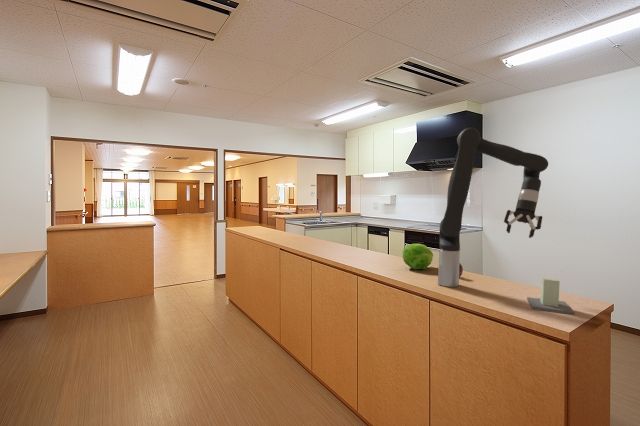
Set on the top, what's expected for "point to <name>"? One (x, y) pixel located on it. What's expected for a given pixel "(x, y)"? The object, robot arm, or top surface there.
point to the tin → (460, 269)
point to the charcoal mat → (537, 305)
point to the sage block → (549, 291)
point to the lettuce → (417, 256)
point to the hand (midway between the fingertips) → (519, 235)
